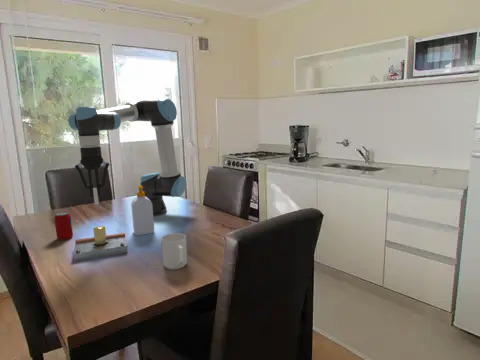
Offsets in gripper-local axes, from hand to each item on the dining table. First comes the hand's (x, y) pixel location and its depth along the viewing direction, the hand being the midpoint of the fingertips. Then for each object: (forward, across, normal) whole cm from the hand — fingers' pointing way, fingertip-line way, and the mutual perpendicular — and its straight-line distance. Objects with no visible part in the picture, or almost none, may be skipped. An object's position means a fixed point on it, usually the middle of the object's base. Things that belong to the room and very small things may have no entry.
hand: (96, 203), depth 136 cm
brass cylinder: (+20, 0, 0) cm, 20 cm away
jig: (+20, 0, 0) cm, 20 cm away
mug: (+21, -26, +29) cm, 44 cm away
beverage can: (+21, +16, -24) cm, 35 cm away
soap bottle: (+21, -19, -16) cm, 32 cm away
